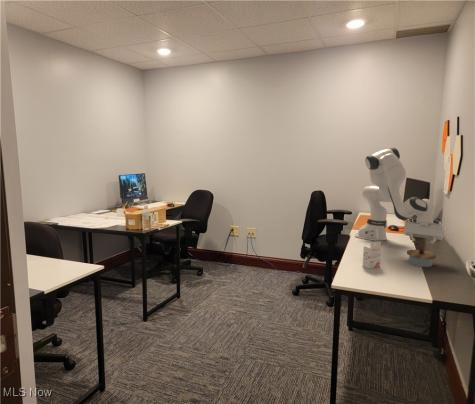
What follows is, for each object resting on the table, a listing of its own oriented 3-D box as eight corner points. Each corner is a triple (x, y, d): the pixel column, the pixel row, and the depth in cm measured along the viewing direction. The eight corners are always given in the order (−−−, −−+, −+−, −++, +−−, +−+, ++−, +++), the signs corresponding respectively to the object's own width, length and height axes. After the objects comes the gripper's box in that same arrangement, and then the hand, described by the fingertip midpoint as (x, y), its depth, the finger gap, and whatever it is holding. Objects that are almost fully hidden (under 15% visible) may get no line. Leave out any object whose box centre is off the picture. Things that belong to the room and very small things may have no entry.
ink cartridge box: (372, 264, 194) (374, 239, 192) (379, 266, 190) (382, 241, 188) (361, 266, 190) (363, 240, 188) (368, 268, 186) (371, 242, 184)
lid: (406, 256, 194) (407, 240, 193) (407, 250, 207) (408, 235, 206) (436, 260, 187) (438, 244, 186) (435, 254, 200) (437, 239, 199)
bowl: (408, 264, 196) (409, 256, 195) (409, 259, 206) (410, 251, 205) (432, 268, 190) (433, 259, 189) (432, 262, 200) (432, 254, 199)
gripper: (405, 218, 206) (402, 237, 199) (444, 222, 196) (443, 242, 189) (405, 224, 210) (402, 243, 203) (443, 228, 201) (442, 248, 194)
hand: (422, 242), depth 196 cm, fingers open, 8 cm apart
